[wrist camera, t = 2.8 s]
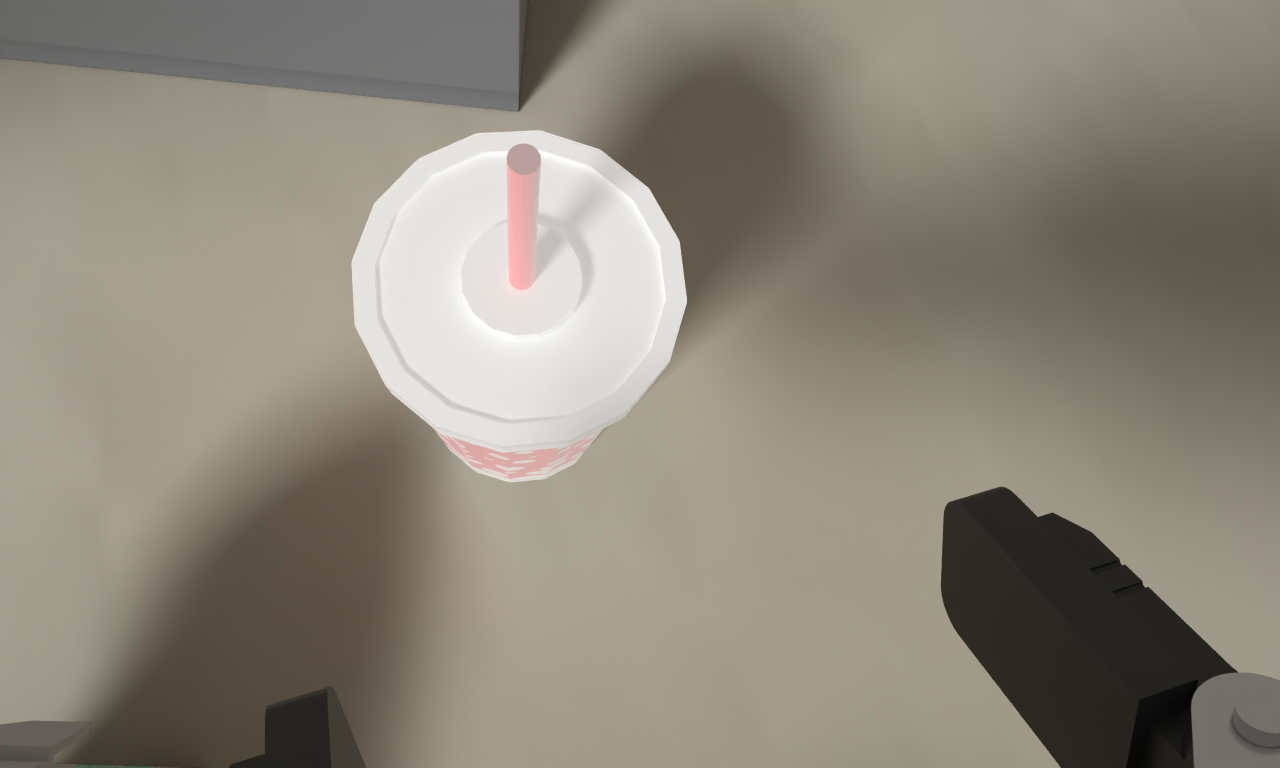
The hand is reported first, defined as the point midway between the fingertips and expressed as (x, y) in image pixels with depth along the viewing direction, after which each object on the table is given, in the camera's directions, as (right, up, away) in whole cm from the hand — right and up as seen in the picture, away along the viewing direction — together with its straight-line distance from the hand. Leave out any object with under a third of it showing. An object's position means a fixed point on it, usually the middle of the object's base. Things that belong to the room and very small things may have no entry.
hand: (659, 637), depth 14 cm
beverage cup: (-3, +3, +15) cm, 15 cm away
